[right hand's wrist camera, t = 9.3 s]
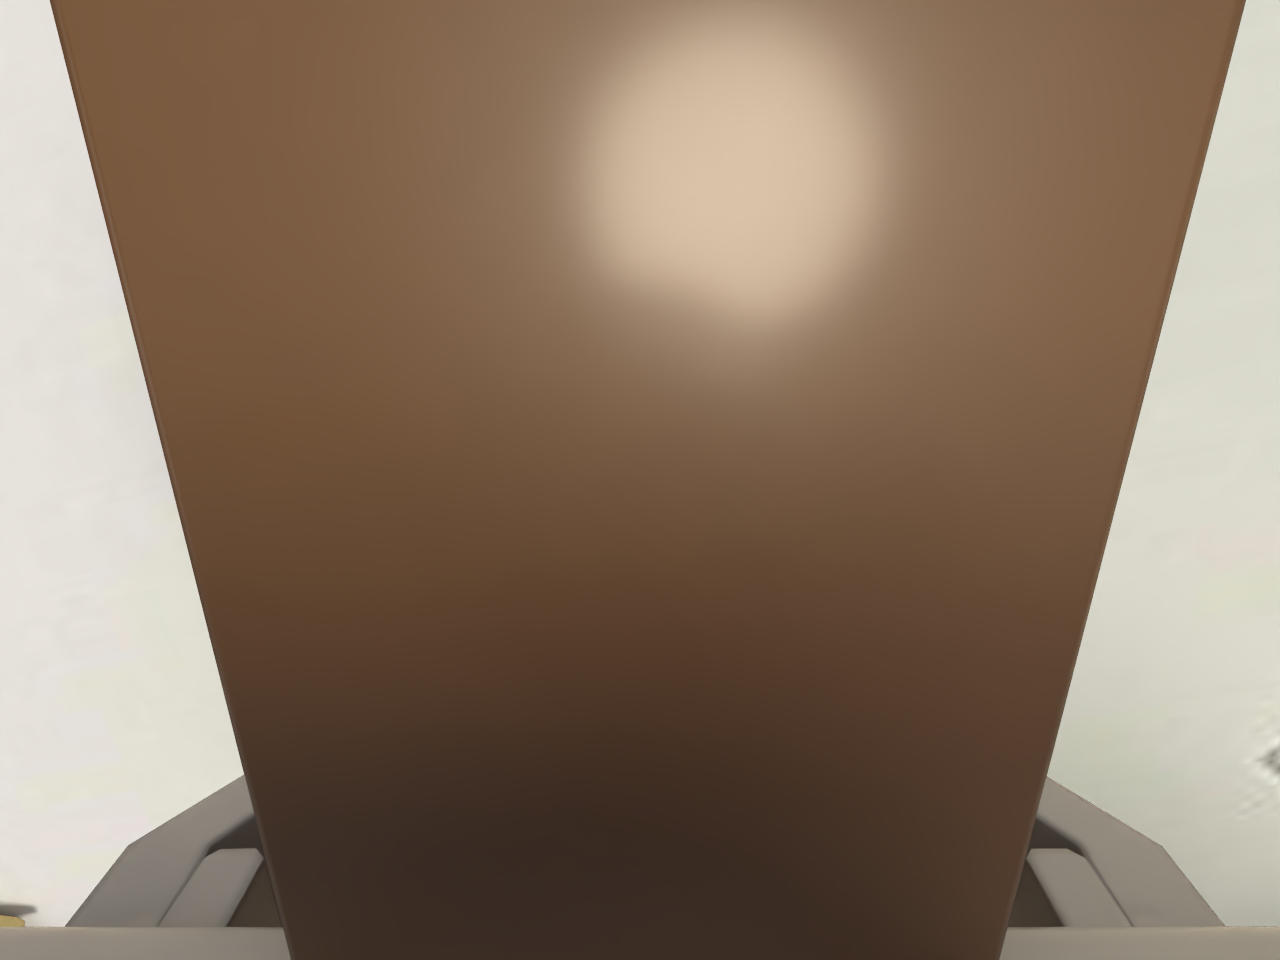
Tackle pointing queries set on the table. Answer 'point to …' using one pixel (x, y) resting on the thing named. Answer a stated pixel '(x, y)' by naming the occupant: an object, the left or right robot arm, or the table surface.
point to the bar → (646, 439)
